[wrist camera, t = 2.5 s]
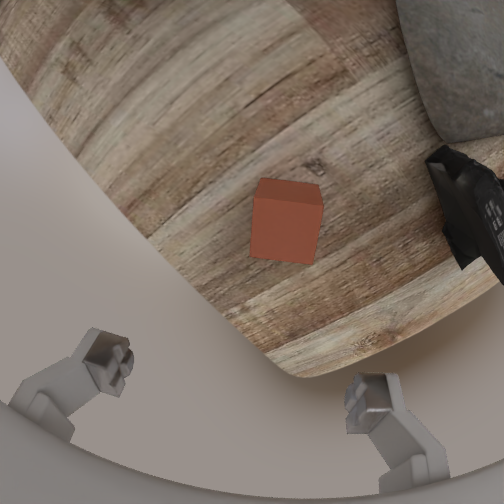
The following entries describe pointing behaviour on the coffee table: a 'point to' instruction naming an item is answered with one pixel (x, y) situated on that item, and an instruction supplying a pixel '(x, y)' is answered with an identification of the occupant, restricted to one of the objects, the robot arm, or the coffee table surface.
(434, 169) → the battery
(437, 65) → the stone
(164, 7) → the coffee table surface
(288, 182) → the block
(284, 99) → the coffee table surface
